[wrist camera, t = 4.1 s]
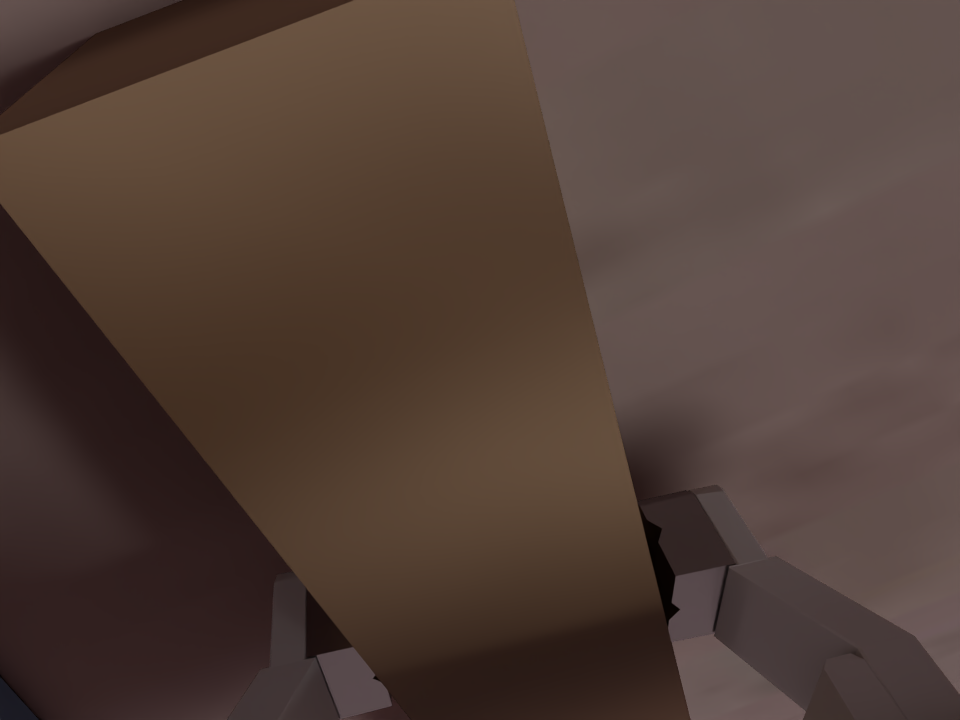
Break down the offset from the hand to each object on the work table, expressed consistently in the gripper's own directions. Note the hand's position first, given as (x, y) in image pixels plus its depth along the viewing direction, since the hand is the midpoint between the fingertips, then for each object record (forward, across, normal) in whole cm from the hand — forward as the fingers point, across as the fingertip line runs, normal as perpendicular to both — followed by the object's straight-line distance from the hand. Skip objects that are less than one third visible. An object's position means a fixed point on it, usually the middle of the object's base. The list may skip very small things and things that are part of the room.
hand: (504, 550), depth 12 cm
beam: (+2, 0, 0) cm, 2 cm away
